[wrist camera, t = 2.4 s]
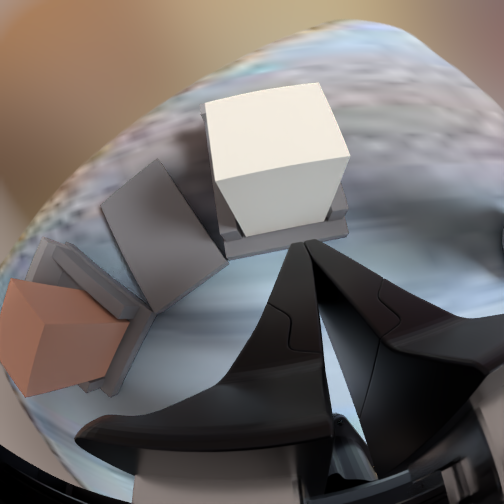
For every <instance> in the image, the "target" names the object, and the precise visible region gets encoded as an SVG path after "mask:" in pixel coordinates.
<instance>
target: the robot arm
mask: <svg viewBox="0 0 504 504" xmlns="http://www.w3.org/2000/svg"><path fill="white" fill-rule="evenodd" d="M319 313H320V315H321V318H322V320H323V323H324V325H325V328H326V331H327V333H328V336H329V338H330V341H331V343H332V346H333V349H334V351H335V354H336V357H337V359H338V362H339V365H340V367H341V370H342V373H343V375H344V378H345V381H346V384H347V387H348V389H349V392H350V395H351V398H352V401H353V403H354V406H355V409H356V412H357V415H358V418H359V419H360V420H359V421H360V424H361V427H362V430H363V433H364V436H365V439H366V442H367V444H366V443H365V441H364V440H363V439H362V438H361V436H360V435H359V434H358V432H357V431H356V430H355V428H354V427H353V426H352V425H351V423H350V422H349V421H348V419H347V418H346V417H345V416H344V415H337V416H335V417H334V418H333V414H332V408H331V401H330V395H329V389H328V384H327V378H326V372H325V363H324V353H323V343H322V333H321V324H320V316H319ZM339 420H343V422H342V423H341V424H337V422H338V421H339ZM74 440H75V442H76V444H77V445H78V446H80V447H81V448H82V449H84V450H85V451H87V452H88V453H90V454H92V455H94V456H95V457H97V458H99V459H101V460H103V461H105V462H107V463H109V464H111V465H113V466H115V467H117V468H119V469H121V470H123V471H125V472H127V473H129V474H132V475H134V476H135V480H134V488H133V497H132V503H129V502H125V501H121V500H118V499H114V498H110V497H107V496H104V495H100V494H97V493H94V492H91V491H88V490H85V489H83V488H80V487H77V486H74V485H72V484H70V483H67V482H65V481H63V480H60V479H59V478H56V477H54V476H52V475H50V474H48V473H46V472H44V471H43V470H41V469H39V468H37V467H36V466H34V465H32V464H30V463H28V462H27V461H25V460H23V459H22V458H20V457H18V456H17V455H15V454H14V453H12V452H11V451H9V450H8V449H6V448H5V447H3V446H1V445H0V504H504V314H500V315H494V316H488V317H481V318H473V319H472V318H462V317H459V316H456V315H454V314H451V313H449V312H447V311H445V310H443V309H441V308H439V307H437V306H435V305H433V304H431V303H429V302H427V301H425V300H423V299H421V298H419V297H417V296H415V295H413V294H411V293H409V292H407V291H405V290H404V289H402V288H400V287H398V286H397V285H395V284H393V283H391V282H390V281H388V280H386V279H383V277H381V276H380V275H378V274H376V273H375V272H373V271H371V270H369V269H368V268H366V267H364V266H363V265H361V264H359V263H358V262H356V261H354V260H352V259H351V258H349V257H347V256H345V255H344V254H342V253H340V252H338V251H337V250H335V249H333V248H331V247H330V246H328V245H326V244H324V243H322V242H321V241H319V240H317V239H311V240H306V241H304V243H303V242H302V241H301V242H296V243H291V245H290V247H289V249H288V252H287V255H286V257H285V260H284V262H283V265H282V267H281V270H280V272H279V275H278V277H277V280H276V282H275V285H274V287H273V290H272V292H271V295H270V297H269V299H268V302H267V305H266V306H265V309H264V311H263V314H262V316H261V318H260V320H259V322H258V324H257V326H256V328H255V330H254V331H253V333H252V335H251V337H250V338H249V340H248V341H247V343H246V345H245V346H244V348H243V349H242V351H241V352H240V354H239V356H238V357H237V359H236V360H235V362H234V363H233V365H232V366H231V368H230V369H229V371H228V372H227V374H226V375H225V376H224V377H223V378H222V379H221V380H220V381H219V382H218V383H217V384H216V385H214V386H212V387H211V388H209V389H207V390H204V391H202V392H200V393H198V394H196V395H194V396H192V397H190V398H187V399H185V400H183V401H181V402H178V403H176V404H174V405H172V406H169V407H167V408H165V409H162V410H160V411H157V412H154V413H150V414H146V415H140V416H121V415H104V416H101V417H99V418H97V419H95V420H93V421H91V422H89V423H88V424H86V425H85V426H84V427H83V428H81V430H80V431H79V432H78V433H77V435H76V436H75V438H74ZM373 466H374V467H373ZM375 472H376V473H377V475H376V473H375Z"/></svg>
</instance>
